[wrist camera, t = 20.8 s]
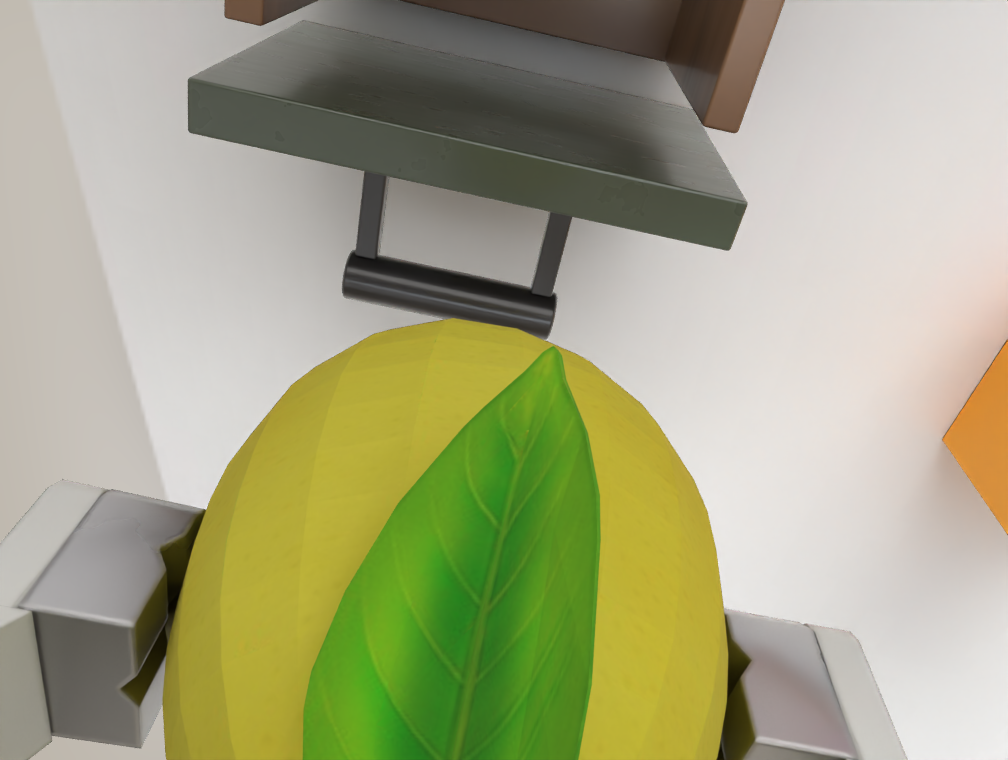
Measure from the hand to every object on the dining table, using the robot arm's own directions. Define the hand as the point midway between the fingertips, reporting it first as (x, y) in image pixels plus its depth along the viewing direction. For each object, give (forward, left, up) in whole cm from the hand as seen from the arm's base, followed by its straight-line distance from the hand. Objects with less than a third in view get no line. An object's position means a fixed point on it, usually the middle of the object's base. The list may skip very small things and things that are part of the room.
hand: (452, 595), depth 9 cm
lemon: (0, 0, -4) cm, 4 cm away
